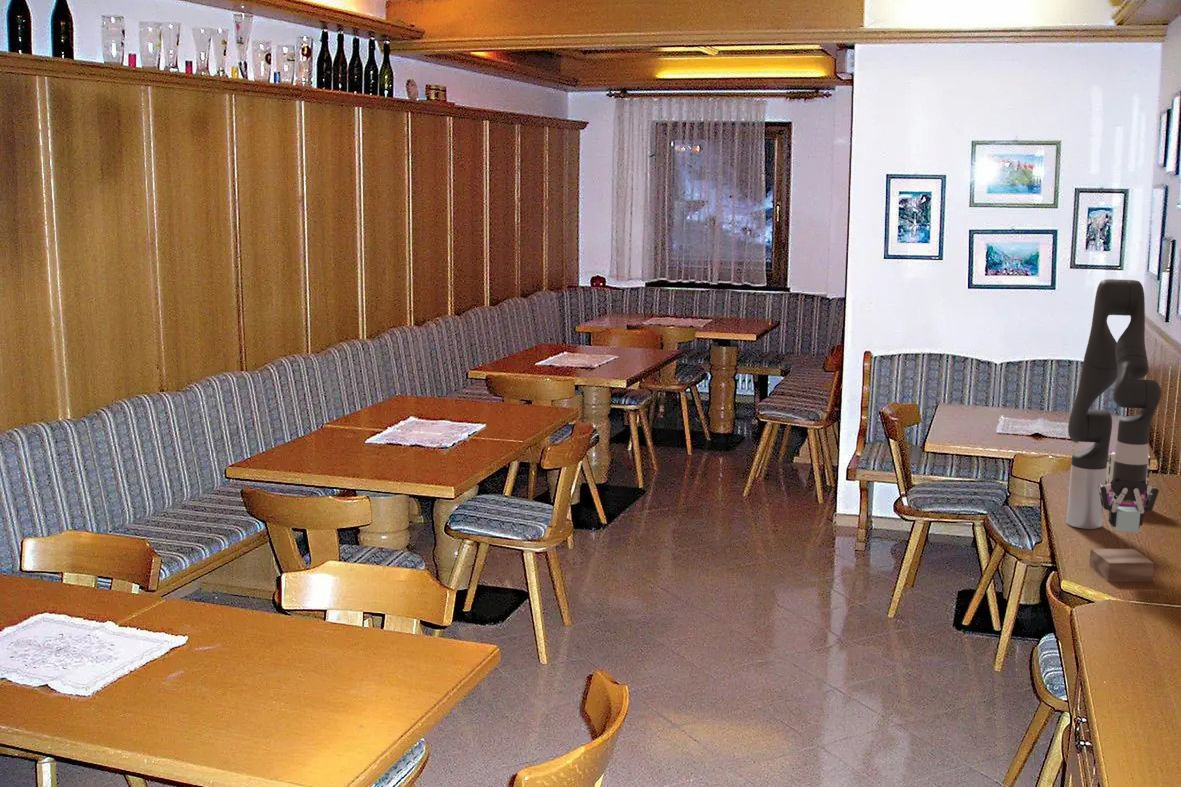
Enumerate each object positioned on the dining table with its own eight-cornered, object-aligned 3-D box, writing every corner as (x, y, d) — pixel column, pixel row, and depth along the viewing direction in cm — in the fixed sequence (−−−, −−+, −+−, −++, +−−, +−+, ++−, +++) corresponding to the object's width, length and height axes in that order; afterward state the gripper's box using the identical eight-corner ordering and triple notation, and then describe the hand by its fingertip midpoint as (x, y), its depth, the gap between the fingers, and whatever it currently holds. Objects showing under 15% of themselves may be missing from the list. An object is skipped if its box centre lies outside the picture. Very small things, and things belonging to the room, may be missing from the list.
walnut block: (1089, 567, 305) (1090, 548, 304) (1132, 567, 305) (1134, 548, 304) (1107, 582, 294) (1109, 563, 293) (1152, 582, 294) (1154, 563, 293)
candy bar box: (1145, 506, 358) (1150, 453, 355) (1146, 511, 354) (1151, 457, 350) (1104, 502, 362) (1109, 449, 359) (1105, 507, 358) (1109, 453, 355)
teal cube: (1111, 525, 300) (1113, 506, 299) (1132, 526, 299) (1134, 507, 298) (1117, 531, 295) (1118, 511, 294) (1138, 532, 294) (1140, 512, 293)
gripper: (1157, 457, 296) (1150, 523, 300) (1096, 455, 298) (1090, 520, 302) (1166, 464, 289) (1160, 532, 292) (1104, 462, 291) (1098, 529, 294)
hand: (1124, 526), depth 297 cm, fingers closed on teal cube, 5 cm apart
